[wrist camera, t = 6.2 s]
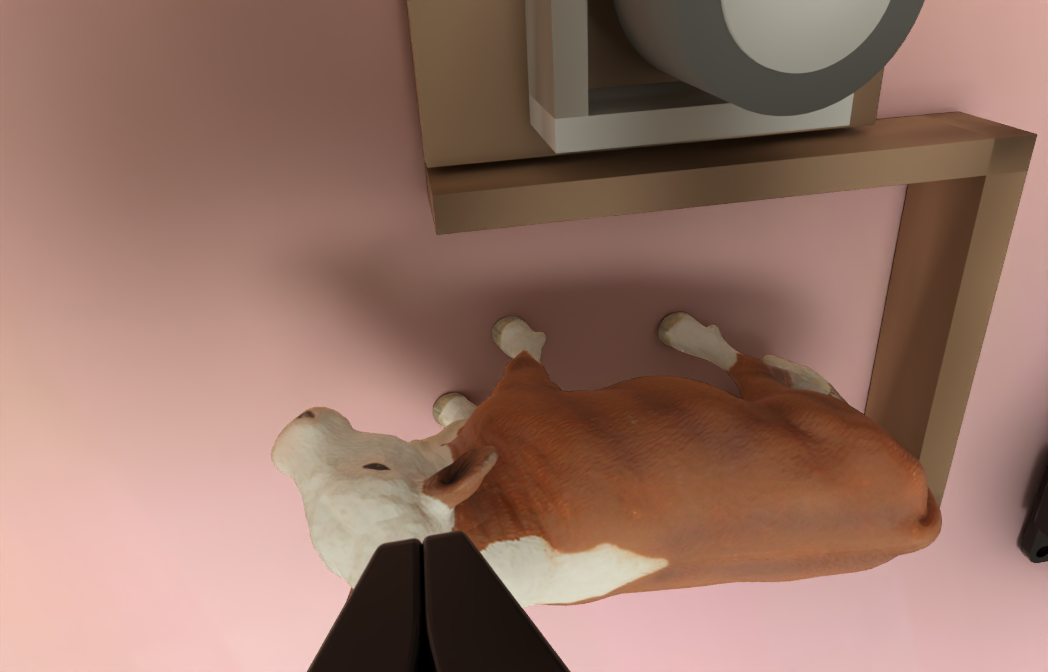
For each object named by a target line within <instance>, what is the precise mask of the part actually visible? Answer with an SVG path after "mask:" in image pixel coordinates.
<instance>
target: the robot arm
mask: <svg viewBox="0 0 1048 672" xmlns="http://www.w3.org/2000/svg"><path fill="white" fill-rule="evenodd" d="M1021 552H1022V553H1023V554H1024V555H1025V556H1026V557H1027V558H1028V559H1029V560H1030V561H1031V562H1034V563H1041V562H1046V561H1048V467H1047V470H1046V473H1045V476H1044V479H1043V482H1042V485H1041V488H1040V491H1039V494H1038V497H1037V500H1036V503H1035V506H1034V509H1033V512H1032V515H1031V518H1030V521H1029V524H1028V527H1027V530H1026V533H1025V536H1024V538H1023V541H1022V544H1021ZM307 672H570V670H569V669H568V668H567V666H566V665H565V664H564V662H563V661H562V660H561V658H560V657H559V656H558V654H557V653H556V652H555V651H554V649H553V648H552V647H551V645H550V644H549V643H548V641H547V640H546V639H545V637H544V636H543V635H542V633H541V632H540V631H539V629H538V628H537V627H536V625H535V624H534V623H533V621H532V620H531V619H530V617H529V616H528V615H527V613H526V612H525V611H524V610H523V608H522V607H521V606H520V604H519V603H518V602H517V600H516V599H515V598H514V596H513V595H512V594H511V592H510V591H509V590H508V588H507V587H506V586H505V584H504V583H503V582H502V580H501V579H500V578H499V576H498V575H497V574H496V573H495V571H494V570H493V569H492V567H491V566H490V565H489V563H488V562H487V561H486V559H485V558H484V557H483V555H482V554H481V553H480V551H479V550H478V549H477V547H476V546H475V545H474V543H473V542H472V541H471V539H470V538H469V537H468V536H467V535H466V534H465V533H464V532H462V531H452V532H446V533H440V534H434V535H429V536H426V537H425V538H424V540H423V542H422V543H421V541H420V540H419V539H417V538H411V539H405V540H399V541H393V542H388V543H383V544H381V545H380V546H378V547H377V549H376V550H375V552H374V554H373V555H372V557H371V559H370V561H369V562H368V564H367V566H366V568H365V570H364V571H363V573H362V575H361V577H360V578H359V580H358V582H357V584H356V586H355V587H354V589H353V591H352V593H351V594H350V596H349V598H348V600H347V602H346V603H345V605H344V607H343V609H342V610H341V612H340V614H339V616H338V617H337V619H336V621H335V623H334V625H333V626H332V628H331V630H330V632H329V633H328V635H327V637H326V639H325V641H324V642H323V644H322V646H321V648H320V649H319V651H318V653H317V655H316V656H315V658H314V660H313V662H312V664H311V665H310V667H309V669H308V671H307Z"/></svg>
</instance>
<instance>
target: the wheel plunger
mask: <svg viewBox="0 0 1048 672" xmlns="http://www.w3.org/2000/svg"><path fill="white" fill-rule="evenodd" d="M923 3H924V0H614V6H615V10H616V13H617V16H618V19H619V22H620V24H621V26H622V29H623V31H624V33H625V35H626V36H627V38H628V40H629V41H630V43H631V44H632V46H633V47H634V48H635V50H636V51H637V52H638V53H639V54H640V56H642V57H643V58H644V59H645V60H646V61H647V62H648V63H649V64H650V65H652V66H653V67H655V68H656V69H658V70H659V71H661V72H663V73H665V74H667V75H670V76H672V77H674V78H676V79H678V80H681V81H683V82H685V83H687V84H690V85H692V86H694V87H696V88H698V89H701V90H703V91H705V92H707V93H710V94H712V95H714V96H716V97H718V98H721V99H723V100H725V101H727V102H729V103H732V104H734V105H736V106H738V107H741V108H743V109H745V110H748V111H751V112H755V113H758V114H762V115H770V116H795V115H801V114H807V113H811V112H814V111H817V110H821V109H824V108H826V107H828V106H830V105H833V104H835V103H837V102H839V101H841V100H843V99H844V98H846V97H848V96H849V95H851V94H853V93H854V92H856V91H857V90H858V89H860V88H861V87H862V86H864V85H865V84H866V83H868V82H869V81H870V80H871V79H872V78H873V77H874V76H875V75H876V74H877V73H878V72H879V71H881V70H882V68H883V67H884V66H885V65H886V64H887V63H888V62H889V60H890V59H891V58H892V57H893V56H894V54H895V53H896V52H897V50H898V49H899V47H900V46H901V45H902V43H903V42H904V40H905V39H906V37H907V35H908V34H909V32H910V30H911V28H912V27H913V25H914V23H915V21H916V19H917V17H918V14H919V12H920V10H921V8H922V6H923Z"/></svg>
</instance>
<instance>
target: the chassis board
mask: <svg viewBox="0 0 1048 672" xmlns="http://www.w3.org/2000/svg"><path fill="white" fill-rule="evenodd" d="M407 9H408V18H409V27H410V36H411V45H412V54H413V63H414V72H415V81H416V89H417V98H418V107H419V116H420V125H421V134H422V143H423V152H424V157H425V161H426V163H425V170H426V178H427V187H428V196H429V201H430V206H431V211H432V215H433V220H434V224H435V229H436V233H437V235H440V234H449V233H458V232H467V231H477V230H486V229H495V228H504V227H514V226H523V225H532V224H541V223H551V222H560V221H569V220H578V219H588V218H597V217H606V216H615V215H625V214H634V213H643V212H652V211H662V210H671V209H680V208H689V207H699V206H708V205H717V204H727V203H736V202H745V201H754V200H764V199H773V198H782V197H791V196H801V195H810V194H819V193H828V192H838V191H847V190H856V189H865V188H875V187H884V186H893V185H902V184H908V189H907V194H906V199H905V205H904V210H903V215H902V220H901V226H900V231H899V236H898V242H897V247H896V252H895V258H894V263H893V268H892V274H891V279H890V284H889V289H888V295H887V300H886V305H885V311H884V316H883V321H882V327H881V332H880V337H879V342H878V348H877V353H876V358H875V364H874V369H873V374H872V380H871V385H870V390H869V395H868V401H867V406H866V411H865V416H867V417H869V418H870V419H872V420H873V421H875V422H876V423H877V424H879V425H880V426H881V427H882V428H884V429H885V430H886V431H888V432H889V433H890V434H891V435H892V436H893V437H895V438H896V439H897V440H898V441H899V442H901V443H902V444H903V445H904V446H905V447H906V448H907V449H908V450H909V451H910V452H911V453H912V454H913V455H914V456H915V457H916V458H917V459H918V460H919V461H920V463H921V464H922V466H923V468H924V470H925V473H926V476H927V486H928V487H929V489H930V490H931V492H932V494H933V496H934V498H935V500H936V502H937V504H938V506H939V509H940V505H941V501H942V497H943V493H944V489H945V486H946V482H947V478H948V474H949V470H950V466H951V463H952V459H953V455H954V451H955V447H956V443H957V440H958V436H959V432H960V428H961V424H962V420H963V417H964V413H965V409H966V405H967V401H968V397H969V394H970V390H971V386H972V382H973V378H974V374H975V371H976V367H977V363H978V359H979V355H980V351H981V348H982V344H983V340H984V336H985V332H986V328H987V325H988V321H989V317H990V313H991V309H992V305H993V302H994V298H995V294H996V290H997V286H998V283H999V279H1000V275H1001V271H1002V267H1003V263H1004V260H1005V256H1006V252H1007V248H1008V244H1009V240H1010V237H1011V233H1012V229H1013V225H1014V221H1015V217H1016V214H1017V210H1018V206H1019V202H1020V198H1021V194H1022V191H1023V187H1024V183H1025V179H1026V175H1027V171H1028V168H1029V164H1030V160H1031V156H1032V152H1033V148H1034V145H1035V141H1036V137H1037V134H1034V133H1031V132H1028V131H1024V130H1021V129H1017V128H1014V127H1010V126H1007V125H1003V124H1000V123H996V122H993V121H990V120H986V119H983V118H979V117H976V116H972V115H969V114H965V113H962V112H950V113H939V114H929V115H919V116H908V117H898V118H887V119H877V120H876V115H877V108H878V102H879V96H880V90H881V84H882V78H883V71H884V67H883V68H882V70H881V71H879V72H878V73H877V74H876V75H875V76H874V77H873V78H872V79H871V80H870V81H869V82H868V83H866V84H865V85H864V86H862V87H861V88H860V89H858V90H857V91H856V92H854V93H853V94H851V95H849V96H848V97H846V98H844V99H843V100H841V101H839V102H837V103H835V104H833V105H830V106H828V107H826V108H824V109H821V110H817V111H814V112H811V113H807V114H801V115H795V116H770V115H762V114H758V113H755V112H751V111H748V110H745V109H743V108H741V107H738V106H736V105H734V104H732V103H729V102H727V101H725V100H723V99H721V98H718V97H716V96H714V95H712V94H710V93H707V92H705V91H703V90H701V89H698V88H696V87H694V86H692V85H690V84H687V83H685V82H683V81H681V80H678V79H676V78H674V77H672V76H670V75H667V74H665V73H663V72H661V71H659V70H658V69H656V68H655V67H653V66H652V65H650V64H649V63H648V62H647V61H646V60H645V59H644V58H643V57H642V56H640V54H639V53H638V52H637V51H636V50H635V48H634V47H633V46H632V44H631V43H630V41H629V40H628V38H627V36H626V35H625V33H624V31H623V29H622V26H621V24H620V22H619V19H618V16H617V13H616V10H615V6H614V0H407Z"/></svg>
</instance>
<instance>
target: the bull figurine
mask: <svg viewBox="0 0 1048 672" xmlns="http://www.w3.org/2000/svg"><path fill="white" fill-rule="evenodd" d="M658 337H659V338H660V340H661V341H662V342H663V343H664V344H665V345H668V346H671V347H674V348H675V349H676V350H678V351H681V352H683V353H686V354H690V355H693V356H695V357H698V358H702V359H706V360H708V361H710V362H712V363H714V364H715V365H717V366H718V367H720V368H721V369H722V370H723V371H725V372H726V373H727V374H728V375H729V376H730V377H731V378H732V379H733V380H734V382H735V383H736V384H737V385H738V387H739V389H740V392H741V397H742V399H740V398H737V397H735V396H733V395H731V394H729V393H727V392H726V391H724V390H722V389H719V388H717V387H714V386H712V385H709V384H706V383H703V382H699V381H696V380H692V379H688V378H681V377H671V376H647V377H639V378H634V379H630V380H626V381H623V382H619V383H616V384H614V385H611V386H608V387H606V388H603V389H600V390H597V391H570V392H567V391H561V389H560V388H559V387H558V386H557V385H556V384H554V383H553V382H552V381H551V380H550V379H549V377H548V374H547V372H546V370H545V368H544V366H543V365H542V364H541V363H540V357H541V350H542V347H543V346H544V344H545V342H546V337H545V335H544V333H543V332H534V331H533V330H531V328H530V327H529V326H528V325H527V324H526V323H525V321H524V320H522V319H521V318H518V317H515V316H509V317H504V318H502V319H500V320H499V321H498V322H497V323H496V324H495V326H494V328H493V329H492V339H493V341H494V342H495V344H496V345H497V346H498V347H499V348H500V349H502V351H503V352H504V353H505V354H506V355H508V356H509V357H511V358H513V359H512V360H510V361H509V362H508V363H507V365H506V366H505V369H504V377H503V378H502V379H501V380H500V381H499V382H498V383H497V385H496V387H495V388H494V390H493V392H492V394H491V396H490V397H489V398H488V399H486V400H485V401H484V402H482V403H481V404H480V405H479V406H476V405H474V404H473V403H472V402H470V401H468V400H467V398H466V397H465V396H463V395H462V394H460V393H449V394H446V395H444V396H442V397H440V398H439V399H438V400H437V402H436V403H435V404H434V407H433V416H434V418H435V420H436V421H437V422H438V423H439V424H441V425H443V426H446V427H445V428H444V429H443V430H442V431H441V432H440V433H438V434H437V435H435V436H432V437H428V438H426V439H423V440H413V441H411V442H409V443H408V442H406V441H404V440H401V439H399V438H397V437H395V436H392V435H385V434H376V433H366V432H360V431H356V430H354V429H353V428H352V426H351V425H350V423H349V421H348V420H347V419H346V418H345V417H344V416H343V415H341V414H340V413H338V412H337V411H335V410H332V409H329V408H326V407H313V408H310V409H308V410H306V411H304V412H303V413H302V414H300V415H299V416H298V417H296V418H295V419H294V420H293V421H292V422H290V423H289V424H288V425H287V426H286V427H285V428H284V430H283V431H282V432H281V433H280V434H279V436H278V438H277V439H276V441H275V444H274V446H273V449H272V452H271V458H272V461H273V463H274V465H275V466H276V467H277V468H278V469H279V470H280V471H281V472H282V473H284V474H287V475H289V476H290V477H292V478H293V479H294V481H295V483H296V485H297V487H298V489H299V491H300V493H301V495H302V499H303V504H304V509H305V515H306V519H307V523H308V527H309V531H310V536H311V540H312V543H313V546H314V548H315V549H316V551H317V552H318V554H319V556H320V557H321V559H322V561H323V563H324V564H325V566H326V567H327V568H328V569H329V570H330V571H331V572H333V573H335V574H336V575H338V576H340V577H341V578H343V579H344V580H346V581H347V582H348V584H349V585H350V586H351V590H350V593H349V596H350V594H351V593H352V591H353V589H354V587H355V586H356V584H357V582H358V580H359V578H360V577H361V575H362V573H363V571H364V570H365V568H366V566H367V564H368V562H369V561H370V559H371V557H372V555H373V554H374V552H375V550H376V549H377V547H378V546H380V545H381V544H383V543H388V542H393V541H399V540H405V539H411V538H417V539H419V540H420V541H421V543H422V542H423V540H424V538H425V537H426V536H429V535H434V534H440V533H446V532H452V531H462V532H464V533H465V534H466V535H467V536H468V537H469V538H470V539H471V541H472V542H473V543H474V545H475V546H476V547H477V549H478V550H479V551H480V553H481V554H482V555H483V557H484V558H485V559H486V561H487V562H488V563H489V565H490V566H491V567H492V569H493V570H494V571H495V573H496V574H497V575H498V576H499V578H500V579H501V580H502V582H503V583H504V584H505V586H506V587H507V588H508V590H509V591H510V592H511V594H512V595H513V596H514V598H515V599H516V600H517V602H518V603H519V604H520V606H521V607H522V608H526V607H529V606H531V605H536V604H543V605H576V604H585V603H590V602H593V601H597V600H600V599H603V598H607V597H610V596H613V595H617V594H621V593H635V592H646V591H657V590H668V589H680V588H690V587H699V586H707V585H714V584H722V583H731V582H780V581H794V580H800V579H806V578H813V577H819V576H826V575H835V574H843V573H852V572H859V571H863V570H868V569H872V568H874V567H876V566H879V565H881V564H883V563H886V562H888V561H890V560H891V559H893V558H895V557H897V556H898V555H902V554H907V553H911V552H915V551H918V550H920V549H923V548H925V547H927V546H929V545H930V544H931V543H932V542H934V541H935V539H936V538H937V536H938V535H939V533H940V530H941V525H942V519H941V512H940V509H939V506H938V504H937V502H936V500H935V498H934V496H933V494H932V492H931V490H930V489H929V487H928V486H927V476H926V473H925V470H924V468H923V466H922V464H921V463H920V461H919V460H918V459H917V458H916V457H915V456H914V455H913V454H912V453H911V452H910V451H909V450H908V449H907V448H906V447H905V446H904V445H903V444H902V443H901V442H899V441H898V440H897V439H896V438H895V437H893V436H892V435H891V434H890V433H889V432H888V431H886V430H885V429H884V428H882V427H881V426H880V425H879V424H877V423H876V422H875V421H873V420H872V419H870V418H869V417H867V416H865V415H864V414H862V413H861V412H859V411H858V410H856V409H855V408H853V407H851V406H850V405H849V404H848V403H847V402H846V401H845V400H844V399H843V398H842V397H841V396H840V395H839V393H838V392H837V391H836V390H835V389H834V388H833V386H832V385H831V384H830V383H829V382H828V381H826V380H825V379H824V378H823V377H822V376H820V375H819V374H818V373H816V372H815V371H814V370H812V369H810V368H808V367H805V366H801V365H797V364H794V363H793V362H791V361H787V360H784V359H781V358H779V357H777V356H774V355H765V356H764V357H763V358H762V361H761V360H759V359H756V358H753V357H750V356H746V355H743V354H742V353H740V352H738V351H736V350H735V349H733V348H732V347H731V346H729V345H728V344H727V342H726V341H725V340H724V339H723V338H722V336H721V333H720V330H719V328H718V327H717V326H715V325H710V326H708V327H705V326H703V325H702V324H701V323H699V322H698V321H697V320H695V319H694V318H692V317H691V315H689V314H687V313H685V312H676V313H673V314H670V315H668V316H667V317H665V318H664V319H663V320H662V322H661V324H660V327H659V330H658ZM349 596H348V598H349ZM348 598H347V600H348ZM346 602H347V601H346Z"/></svg>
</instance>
